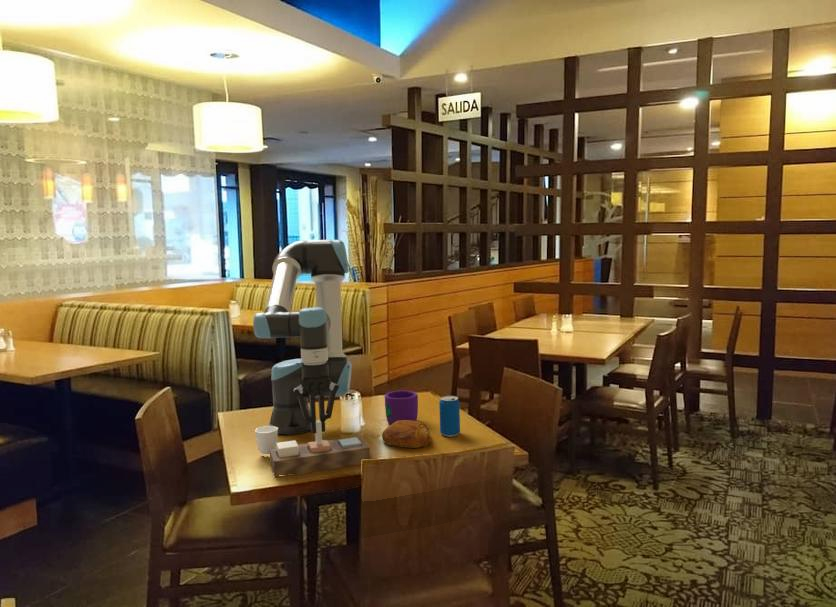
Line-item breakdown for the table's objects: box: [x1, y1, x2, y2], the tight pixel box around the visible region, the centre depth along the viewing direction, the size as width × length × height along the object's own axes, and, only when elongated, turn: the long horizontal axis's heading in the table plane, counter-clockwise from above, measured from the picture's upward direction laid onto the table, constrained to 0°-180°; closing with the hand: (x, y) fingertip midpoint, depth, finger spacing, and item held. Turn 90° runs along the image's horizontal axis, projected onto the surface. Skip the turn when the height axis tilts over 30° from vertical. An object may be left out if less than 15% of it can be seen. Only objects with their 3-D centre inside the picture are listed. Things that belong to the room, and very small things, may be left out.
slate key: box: [339, 437, 361, 449], centre depth 186 cm, size 5×5×4 cm
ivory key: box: [276, 439, 299, 458], centre depth 180 cm, size 5×5×4 cm
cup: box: [254, 425, 279, 454], centre depth 192 cm, size 7×10×8 cm
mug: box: [384, 389, 419, 425], centre depth 222 cm, size 17×11×10 cm, turn 26°
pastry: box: [381, 420, 432, 449], centre depth 199 cm, size 14×16×8 cm
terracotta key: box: [307, 439, 330, 453], centre depth 183 cm, size 5×5×4 cm
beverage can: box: [438, 395, 461, 438], centre depth 204 cm, size 6×6×12 cm
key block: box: [269, 435, 371, 477], centre depth 183 cm, size 27×11×4 cm, turn 109°
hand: (318, 443), depth 182 cm, fingers closed
